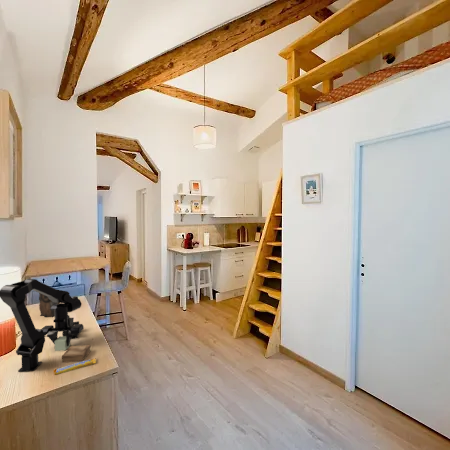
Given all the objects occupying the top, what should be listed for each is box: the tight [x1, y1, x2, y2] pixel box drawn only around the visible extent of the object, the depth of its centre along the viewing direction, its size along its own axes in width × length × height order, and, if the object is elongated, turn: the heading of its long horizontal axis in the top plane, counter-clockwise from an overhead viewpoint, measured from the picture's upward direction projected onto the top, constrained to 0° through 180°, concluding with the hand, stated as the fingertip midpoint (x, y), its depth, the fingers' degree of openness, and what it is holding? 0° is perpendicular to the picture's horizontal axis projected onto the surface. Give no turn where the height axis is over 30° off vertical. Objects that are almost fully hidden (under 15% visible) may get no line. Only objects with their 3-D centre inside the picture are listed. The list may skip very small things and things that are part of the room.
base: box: [61, 344, 91, 363], centre depth 128 cm, size 9×9×3 cm
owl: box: [38, 293, 60, 318], centre depth 179 cm, size 13×13×20 cm
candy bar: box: [52, 358, 97, 376], centre depth 119 cm, size 17×4×2 cm, turn 122°
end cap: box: [61, 320, 80, 340], centre depth 149 cm, size 10×7×7 cm
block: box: [53, 335, 71, 352], centre depth 135 cm, size 5×5×5 cm
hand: (62, 346), depth 135 cm, fingers closed on block, 5 cm apart
